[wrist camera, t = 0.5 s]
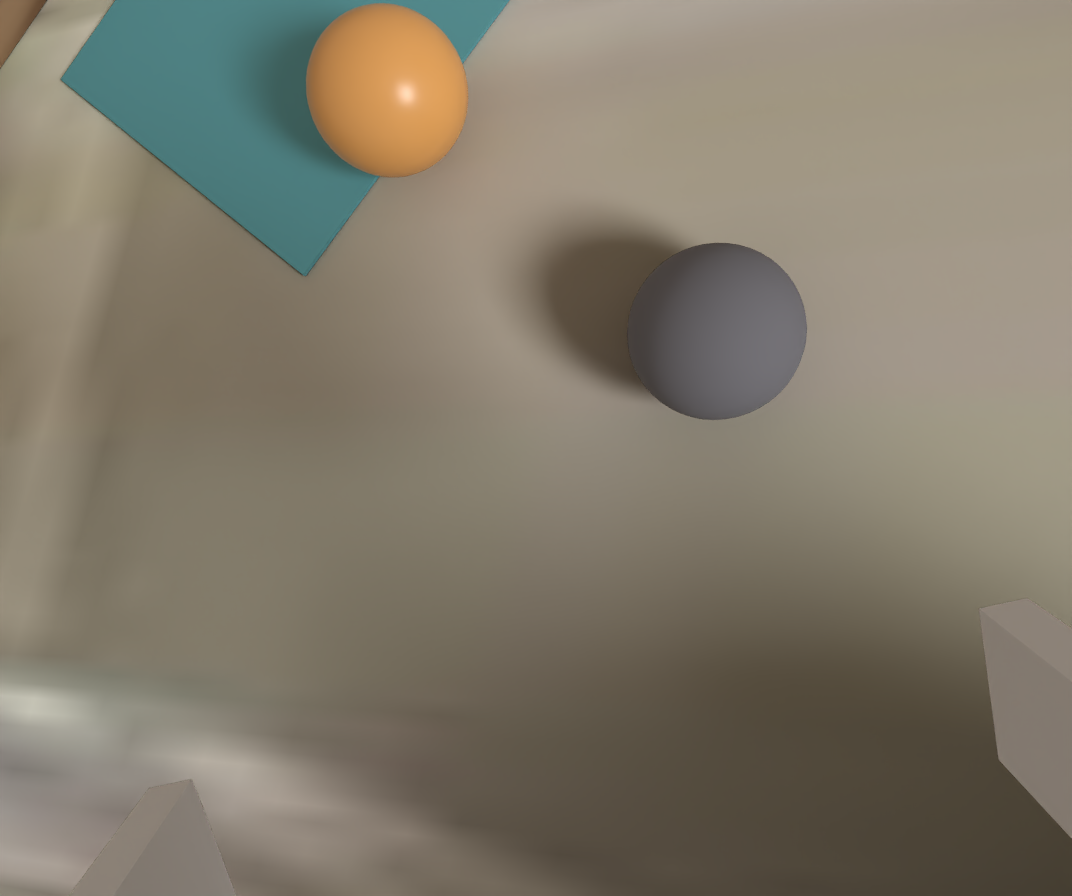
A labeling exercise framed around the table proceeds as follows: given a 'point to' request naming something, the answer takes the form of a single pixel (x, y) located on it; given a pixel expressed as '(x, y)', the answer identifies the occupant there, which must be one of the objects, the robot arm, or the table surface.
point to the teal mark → (242, 103)
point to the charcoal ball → (716, 331)
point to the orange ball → (387, 90)
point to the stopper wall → (15, 22)
